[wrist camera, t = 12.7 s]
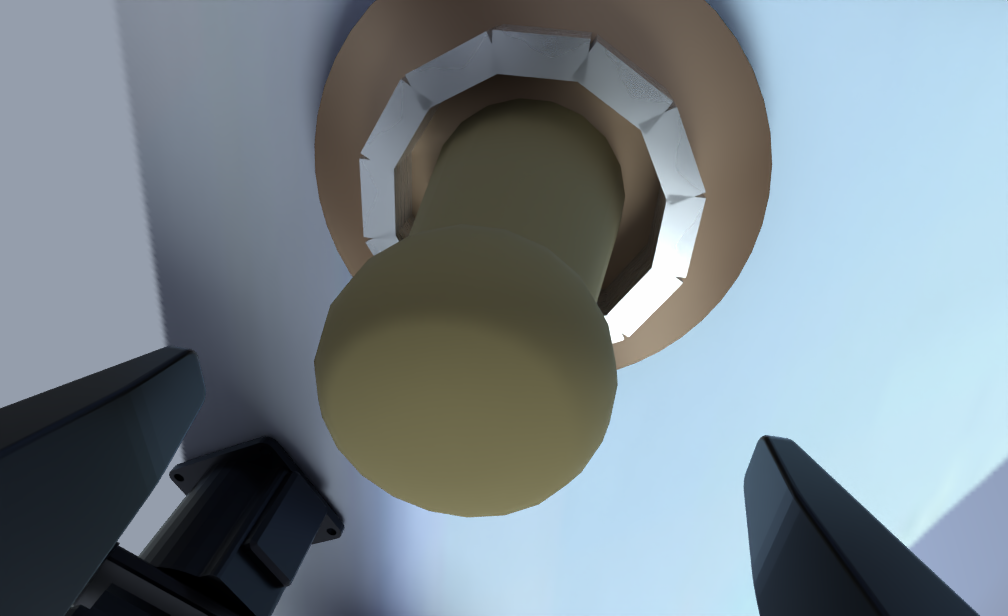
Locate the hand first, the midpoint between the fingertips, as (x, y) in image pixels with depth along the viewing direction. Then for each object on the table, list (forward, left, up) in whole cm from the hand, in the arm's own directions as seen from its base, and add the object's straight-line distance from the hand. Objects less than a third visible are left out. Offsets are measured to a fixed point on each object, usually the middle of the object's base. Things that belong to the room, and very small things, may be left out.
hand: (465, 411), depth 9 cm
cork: (0, 0, -11) cm, 11 cm away
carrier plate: (0, 0, -12) cm, 12 cm away
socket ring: (0, 0, -10) cm, 10 cm away
